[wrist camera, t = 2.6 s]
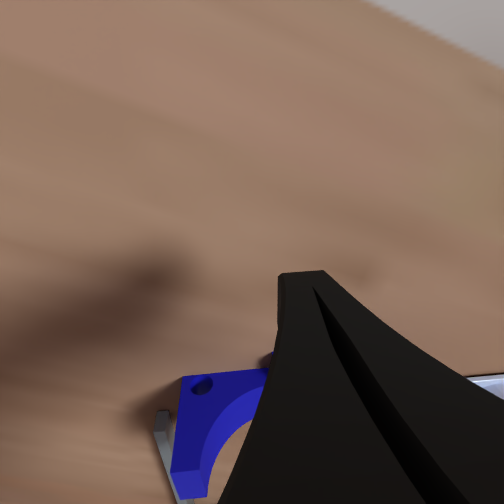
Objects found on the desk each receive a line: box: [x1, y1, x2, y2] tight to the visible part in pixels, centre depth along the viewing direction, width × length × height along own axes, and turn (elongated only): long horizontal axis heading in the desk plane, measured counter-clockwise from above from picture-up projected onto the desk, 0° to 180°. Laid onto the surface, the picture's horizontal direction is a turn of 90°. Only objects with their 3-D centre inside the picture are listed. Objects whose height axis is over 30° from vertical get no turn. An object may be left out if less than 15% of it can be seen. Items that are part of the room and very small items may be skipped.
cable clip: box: [170, 352, 273, 500], centre depth 19 cm, size 12×4×6 cm, turn 93°
